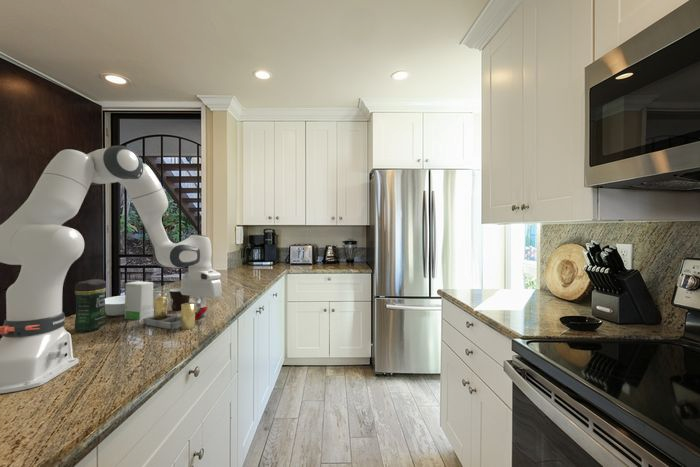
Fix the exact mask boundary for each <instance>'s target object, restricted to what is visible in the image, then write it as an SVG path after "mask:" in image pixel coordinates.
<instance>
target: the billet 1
mask: <svg viewBox="0 0 700 467" xmlns="http://www.w3.org/2000/svg"><path fill="white" fill-rule="evenodd" d="M167 315H168V297H167V296H166V295H159V296H153V317H154V320H158V321H159V320H162V319H166V318H167Z"/></svg>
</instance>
